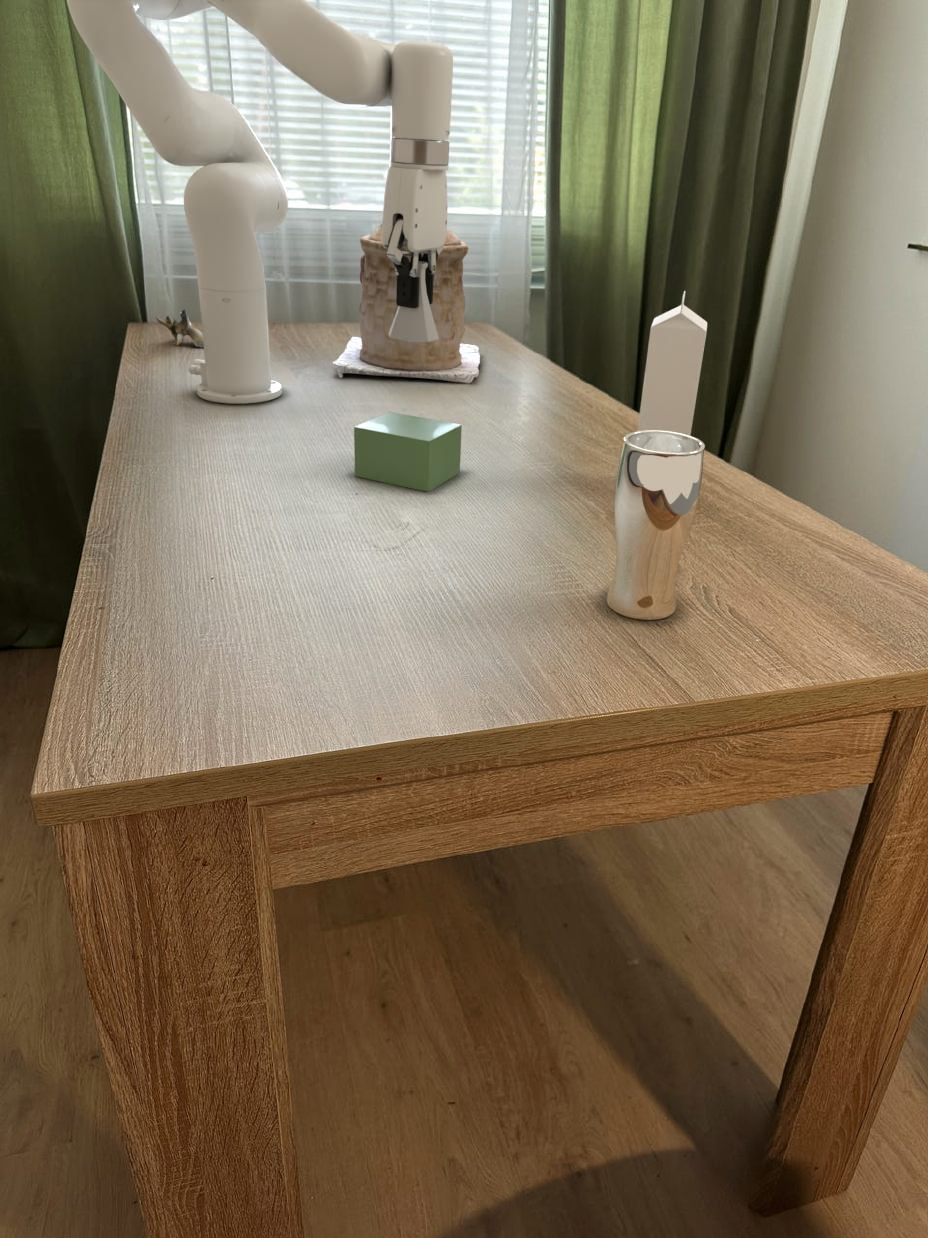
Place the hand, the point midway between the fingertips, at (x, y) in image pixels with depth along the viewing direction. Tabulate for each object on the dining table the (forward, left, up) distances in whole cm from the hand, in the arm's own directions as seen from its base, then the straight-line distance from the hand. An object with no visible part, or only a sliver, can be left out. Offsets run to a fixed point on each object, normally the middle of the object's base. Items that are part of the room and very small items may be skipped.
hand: (414, 303), depth 126 cm
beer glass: (+47, -42, -16) cm, 65 cm away
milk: (+39, -10, -16) cm, 43 cm away
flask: (0, 0, -5) cm, 5 cm away
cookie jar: (-17, +28, -16) cm, 36 cm away
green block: (+12, -23, -16) cm, 30 cm away
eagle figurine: (-59, +18, -16) cm, 63 cm away
